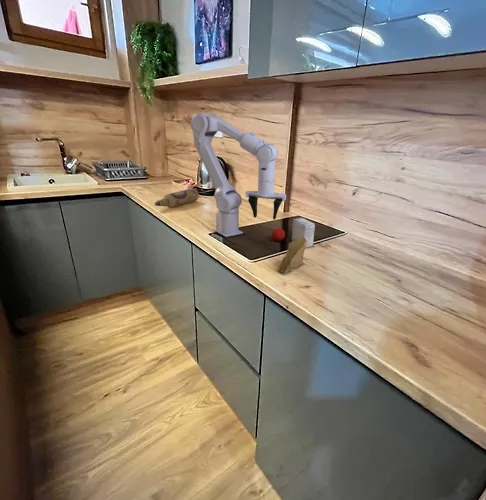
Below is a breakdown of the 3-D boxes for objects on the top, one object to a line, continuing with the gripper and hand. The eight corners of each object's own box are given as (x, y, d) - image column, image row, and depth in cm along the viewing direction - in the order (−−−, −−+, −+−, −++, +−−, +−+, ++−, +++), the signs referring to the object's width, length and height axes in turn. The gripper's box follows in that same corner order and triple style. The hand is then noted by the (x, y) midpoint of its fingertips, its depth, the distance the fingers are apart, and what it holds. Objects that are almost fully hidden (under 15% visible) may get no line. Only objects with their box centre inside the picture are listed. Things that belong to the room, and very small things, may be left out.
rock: (285, 271, 85) (315, 262, 89) (275, 243, 87) (305, 235, 90) (273, 278, 95) (300, 268, 99) (264, 252, 97) (291, 244, 100)
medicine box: (313, 246, 110) (315, 223, 107) (303, 248, 108) (305, 225, 105) (300, 239, 117) (302, 217, 113) (291, 240, 114) (292, 218, 111)
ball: (268, 240, 114) (269, 227, 112) (279, 237, 117) (279, 225, 115) (277, 244, 111) (277, 231, 109) (287, 241, 114) (288, 229, 112)
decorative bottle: (189, 199, 165) (188, 187, 163) (199, 201, 162) (198, 189, 159) (149, 209, 145) (148, 195, 142) (160, 212, 141) (159, 198, 139)
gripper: (243, 180, 104) (242, 218, 109) (284, 184, 101) (282, 223, 107) (248, 177, 110) (248, 213, 116) (288, 180, 108) (285, 217, 113)
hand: (264, 217), depth 112 cm, fingers open, 7 cm apart
